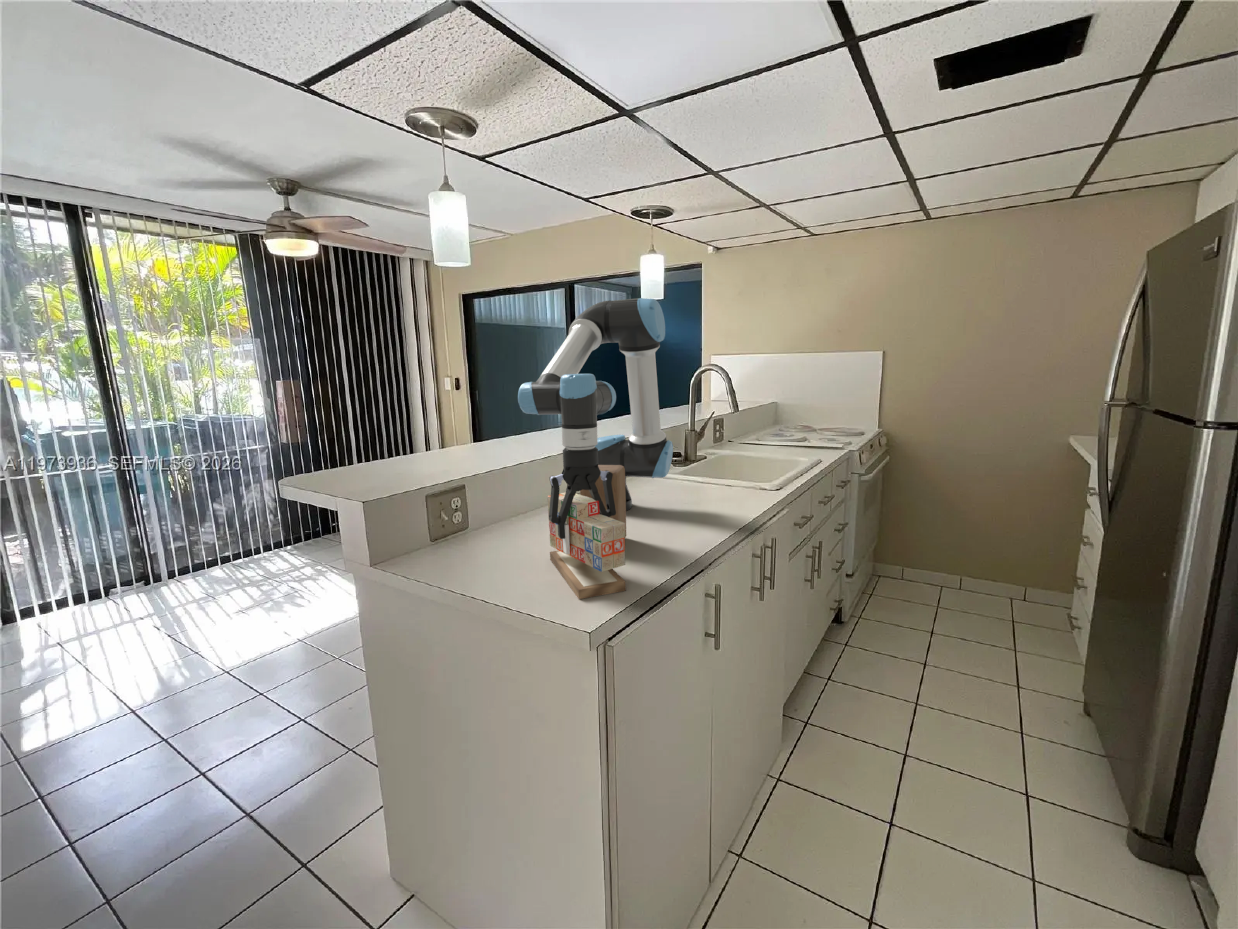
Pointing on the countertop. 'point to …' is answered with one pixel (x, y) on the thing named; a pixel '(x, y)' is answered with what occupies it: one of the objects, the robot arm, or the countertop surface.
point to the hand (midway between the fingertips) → (584, 549)
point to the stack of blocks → (590, 534)
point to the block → (617, 488)
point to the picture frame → (586, 577)
